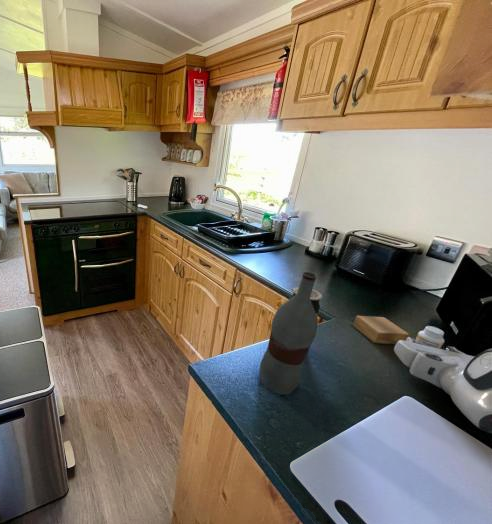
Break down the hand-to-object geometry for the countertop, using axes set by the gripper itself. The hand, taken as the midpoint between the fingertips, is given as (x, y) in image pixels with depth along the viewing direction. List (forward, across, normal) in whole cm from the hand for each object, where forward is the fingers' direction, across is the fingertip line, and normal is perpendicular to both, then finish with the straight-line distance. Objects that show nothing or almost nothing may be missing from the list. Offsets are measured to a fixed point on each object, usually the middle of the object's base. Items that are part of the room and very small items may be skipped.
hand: (429, 344), depth 84 cm
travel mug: (-11, +37, +6) cm, 39 cm away
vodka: (-30, +42, +6) cm, 52 cm away
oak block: (+9, +8, +5) cm, 14 cm away
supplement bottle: (0, 0, +6) cm, 6 cm away
